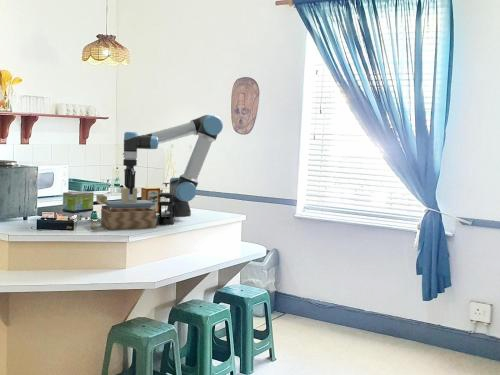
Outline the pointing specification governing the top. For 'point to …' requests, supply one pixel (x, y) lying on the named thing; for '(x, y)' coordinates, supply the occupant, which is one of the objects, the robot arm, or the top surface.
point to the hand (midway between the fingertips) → (129, 199)
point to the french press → (172, 209)
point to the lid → (129, 201)
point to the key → (101, 199)
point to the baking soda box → (151, 196)
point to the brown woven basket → (127, 218)
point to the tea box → (78, 204)
